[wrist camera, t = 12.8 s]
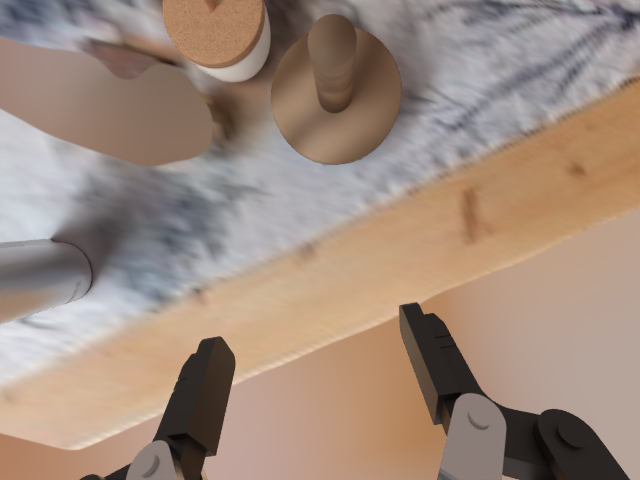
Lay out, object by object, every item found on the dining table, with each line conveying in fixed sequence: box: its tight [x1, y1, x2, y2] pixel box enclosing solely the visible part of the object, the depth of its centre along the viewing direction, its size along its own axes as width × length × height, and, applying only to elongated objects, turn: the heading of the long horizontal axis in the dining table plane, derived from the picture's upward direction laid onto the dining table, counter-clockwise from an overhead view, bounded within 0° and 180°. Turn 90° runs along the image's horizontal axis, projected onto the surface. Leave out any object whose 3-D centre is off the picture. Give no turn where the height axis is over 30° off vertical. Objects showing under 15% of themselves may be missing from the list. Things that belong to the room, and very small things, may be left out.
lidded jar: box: [163, 0, 271, 83], centre depth 29 cm, size 11×11×9 cm
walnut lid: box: [271, 14, 402, 165], centre depth 24 cm, size 14×14×10 cm
